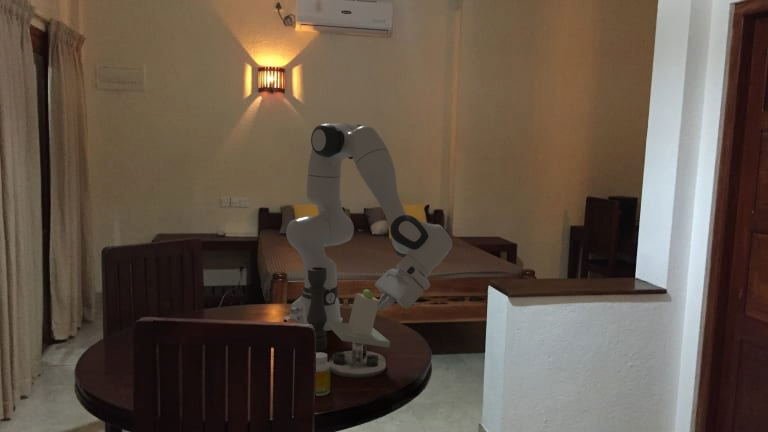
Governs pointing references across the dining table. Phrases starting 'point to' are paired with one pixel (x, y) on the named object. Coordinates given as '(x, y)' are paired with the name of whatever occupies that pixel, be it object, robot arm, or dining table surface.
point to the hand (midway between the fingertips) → (378, 308)
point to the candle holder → (318, 305)
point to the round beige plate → (357, 362)
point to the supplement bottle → (322, 374)
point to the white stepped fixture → (361, 322)
